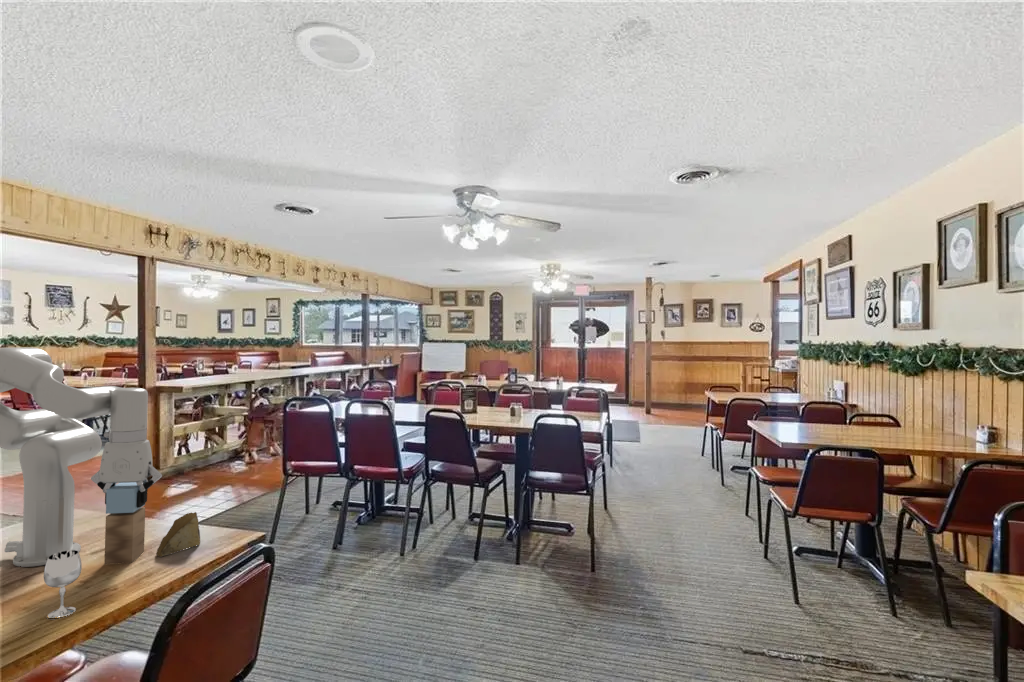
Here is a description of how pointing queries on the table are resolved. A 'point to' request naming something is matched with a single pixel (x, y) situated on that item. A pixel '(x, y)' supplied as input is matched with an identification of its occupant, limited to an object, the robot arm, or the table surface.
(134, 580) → the table surface
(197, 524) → the rock
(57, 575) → the wineglass
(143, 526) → the tower mid
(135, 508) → the blue block
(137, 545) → the tower base
